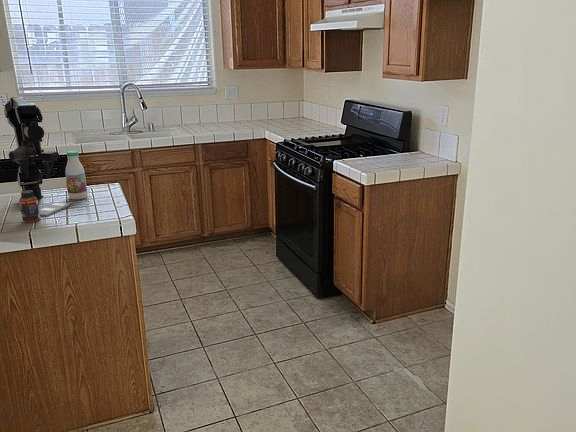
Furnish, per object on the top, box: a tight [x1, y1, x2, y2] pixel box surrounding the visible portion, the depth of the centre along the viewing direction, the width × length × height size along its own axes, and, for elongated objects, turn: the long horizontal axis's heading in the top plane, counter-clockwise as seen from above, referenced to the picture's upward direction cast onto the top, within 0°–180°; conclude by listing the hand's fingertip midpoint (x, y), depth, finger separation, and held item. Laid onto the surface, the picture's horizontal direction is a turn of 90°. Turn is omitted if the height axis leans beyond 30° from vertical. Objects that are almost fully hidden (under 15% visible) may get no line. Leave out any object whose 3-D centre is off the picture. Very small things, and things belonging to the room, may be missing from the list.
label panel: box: [38, 201, 73, 218], centre depth 202 cm, size 10×16×1 cm, turn 167°
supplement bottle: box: [18, 190, 41, 224], centre depth 187 cm, size 6×6×11 cm
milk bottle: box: [64, 150, 88, 200], centre depth 217 cm, size 8×8×20 cm
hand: (37, 176), depth 200 cm, fingers open, 9 cm apart
